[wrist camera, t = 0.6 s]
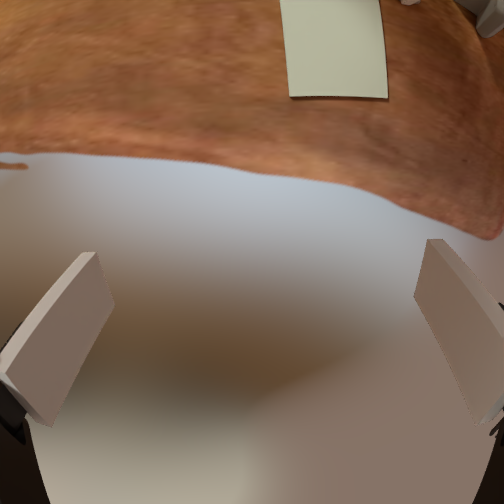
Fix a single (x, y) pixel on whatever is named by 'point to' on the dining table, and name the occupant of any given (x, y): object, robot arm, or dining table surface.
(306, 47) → the mat
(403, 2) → the screen
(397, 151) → the dining table surface
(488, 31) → the digital clock
